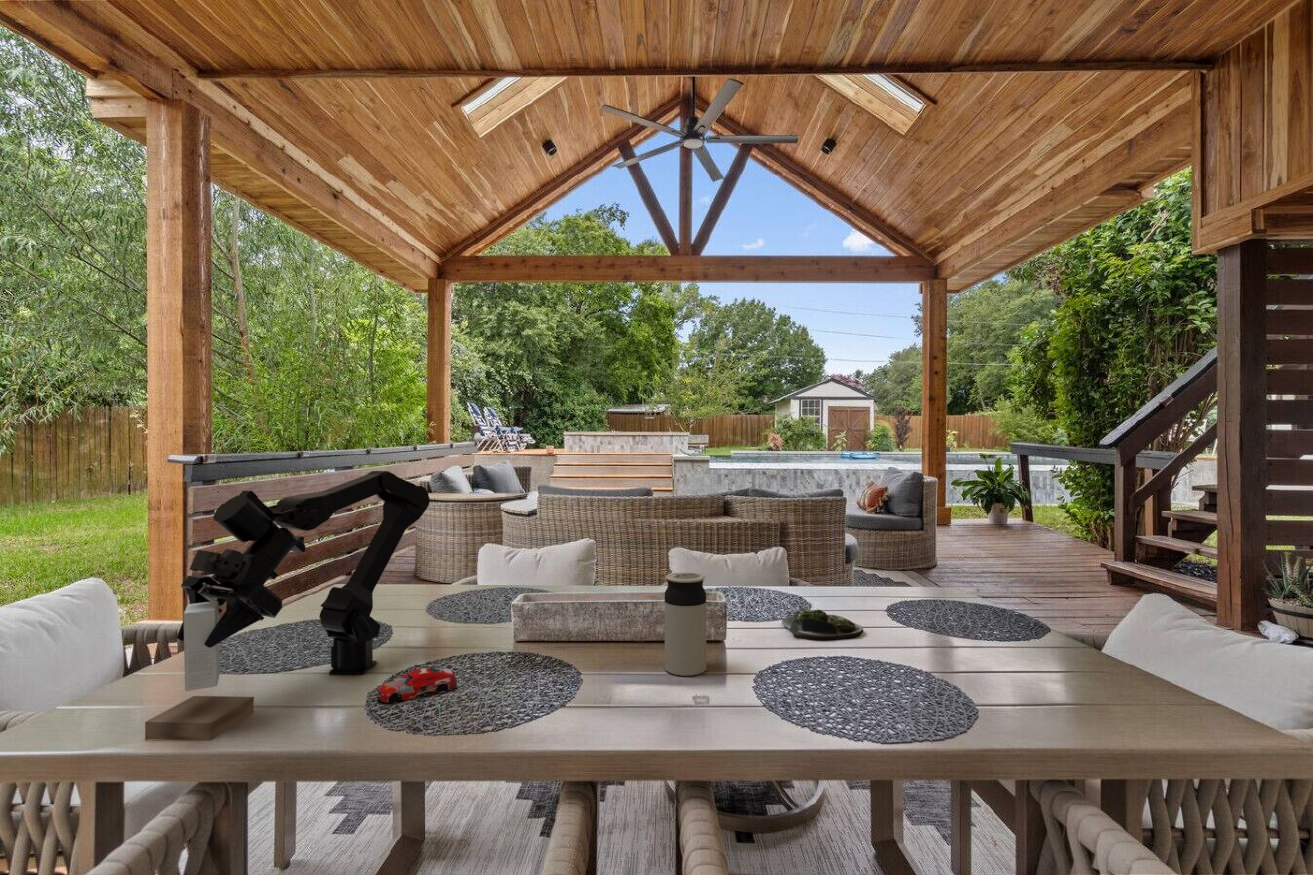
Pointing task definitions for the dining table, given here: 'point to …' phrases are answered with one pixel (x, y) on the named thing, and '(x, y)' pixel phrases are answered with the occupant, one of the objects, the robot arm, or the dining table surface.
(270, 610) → the robot arm
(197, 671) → the skincare box
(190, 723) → the walnut block
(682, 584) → the travel mug
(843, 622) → the salad plate
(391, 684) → the race car
